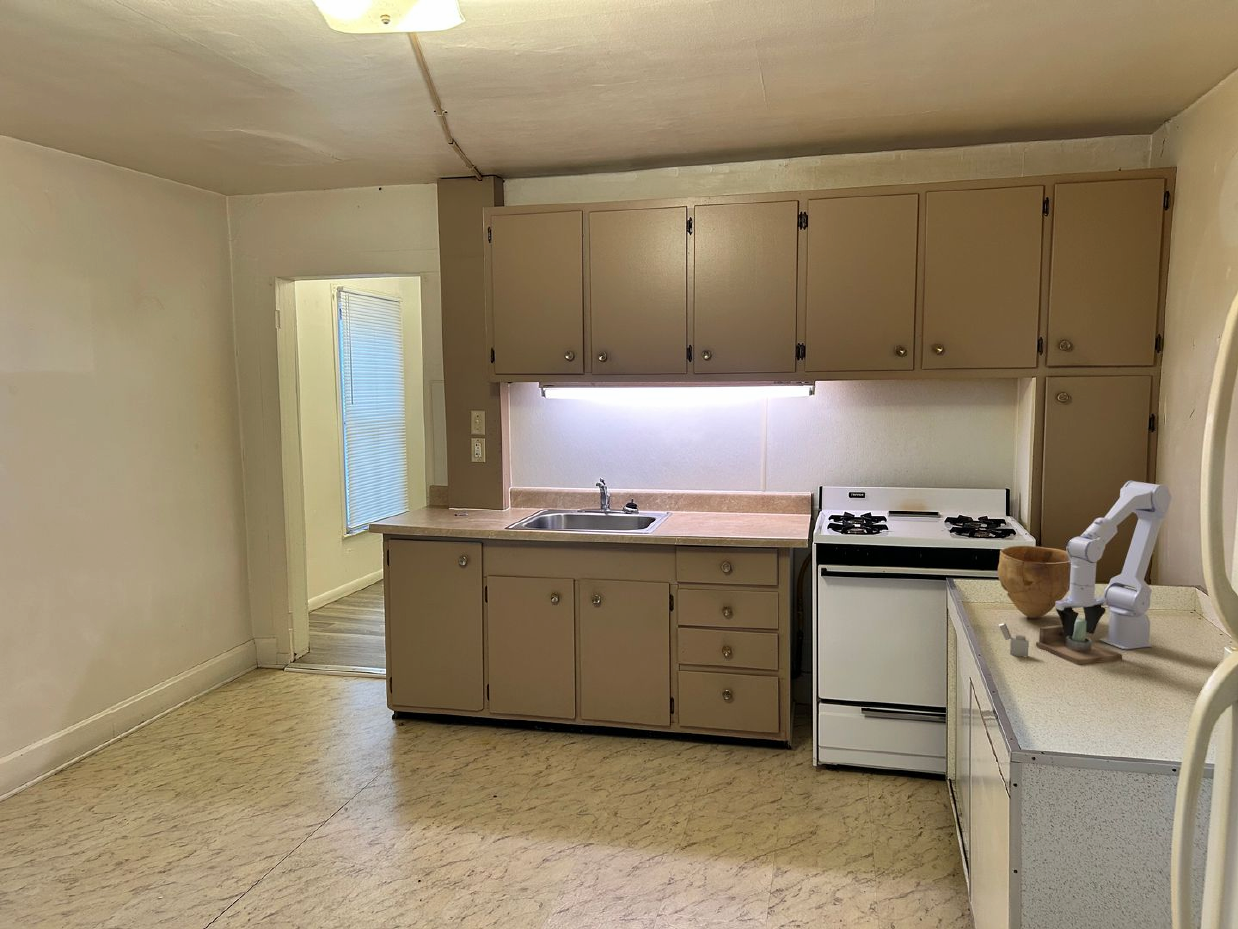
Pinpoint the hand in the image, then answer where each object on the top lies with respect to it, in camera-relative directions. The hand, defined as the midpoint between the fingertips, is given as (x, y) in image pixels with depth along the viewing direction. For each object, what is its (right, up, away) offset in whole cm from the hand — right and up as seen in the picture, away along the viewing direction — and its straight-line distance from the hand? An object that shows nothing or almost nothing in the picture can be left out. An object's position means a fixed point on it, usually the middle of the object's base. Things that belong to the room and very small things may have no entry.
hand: (1079, 634), depth 217 cm
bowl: (+3, -2, +30) cm, 31 cm away
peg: (0, -3, 0) cm, 3 cm away
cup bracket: (0, -5, +1) cm, 5 cm away
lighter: (-17, -5, 0) cm, 18 cm away
